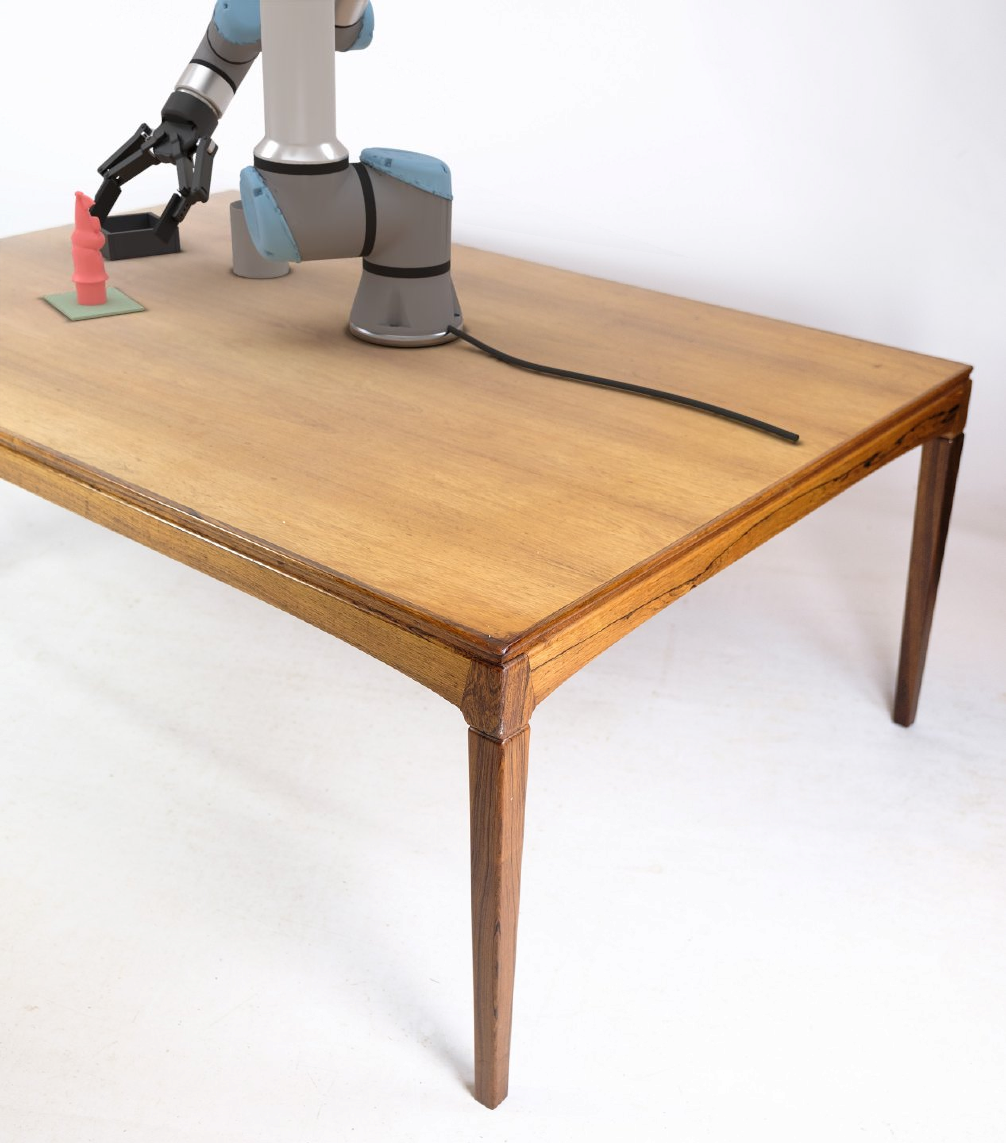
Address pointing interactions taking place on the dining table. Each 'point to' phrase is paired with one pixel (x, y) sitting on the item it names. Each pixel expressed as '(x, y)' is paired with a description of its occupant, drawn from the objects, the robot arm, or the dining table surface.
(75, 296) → the mat
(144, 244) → the box
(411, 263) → the robot arm
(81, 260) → the figurine
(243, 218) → the cup
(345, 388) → the dining table surface
